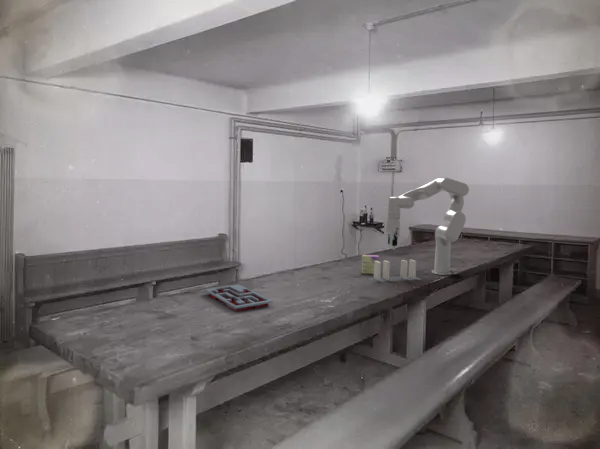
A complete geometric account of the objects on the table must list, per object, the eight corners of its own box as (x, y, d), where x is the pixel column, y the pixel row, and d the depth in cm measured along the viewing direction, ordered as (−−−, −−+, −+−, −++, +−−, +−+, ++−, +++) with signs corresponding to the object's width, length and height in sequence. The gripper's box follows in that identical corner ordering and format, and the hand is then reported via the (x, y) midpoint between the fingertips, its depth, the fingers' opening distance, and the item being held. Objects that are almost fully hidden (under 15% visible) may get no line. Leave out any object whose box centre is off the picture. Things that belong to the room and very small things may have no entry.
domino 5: (411, 276, 288) (412, 259, 286) (415, 278, 283) (416, 261, 282) (408, 276, 287) (409, 259, 286) (412, 278, 283) (413, 261, 281)
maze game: (272, 307, 222) (272, 300, 221) (235, 313, 210) (235, 307, 210) (238, 290, 250) (239, 284, 250) (205, 295, 239) (205, 289, 239)
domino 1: (376, 278, 281) (377, 260, 279) (380, 280, 276) (381, 262, 275) (373, 278, 280) (374, 260, 279) (377, 280, 275) (378, 262, 274)
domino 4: (402, 277, 286) (403, 259, 285) (406, 279, 281) (407, 261, 280) (399, 277, 286) (400, 259, 284) (404, 279, 281) (405, 261, 279)
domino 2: (385, 278, 283) (386, 260, 281) (389, 280, 278) (390, 262, 276) (382, 278, 282) (383, 260, 281) (386, 280, 277) (387, 262, 276)
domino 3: (391, 248, 296) (392, 231, 294) (395, 249, 291) (396, 232, 290) (389, 248, 295) (389, 231, 294) (392, 249, 291) (393, 232, 289)
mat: (413, 276, 291) (413, 275, 291) (421, 280, 282) (422, 279, 282) (367, 278, 282) (367, 277, 282) (374, 282, 272) (374, 281, 272)
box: (377, 272, 299) (378, 255, 297) (378, 275, 293) (378, 256, 292) (361, 272, 300) (362, 254, 298) (361, 274, 294) (362, 256, 293)
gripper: (382, 215, 298) (381, 242, 300) (394, 218, 281) (393, 247, 284) (392, 215, 300) (391, 242, 302) (405, 217, 284) (404, 247, 286)
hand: (392, 244), depth 293 cm, fingers closed on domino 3, 4 cm apart
